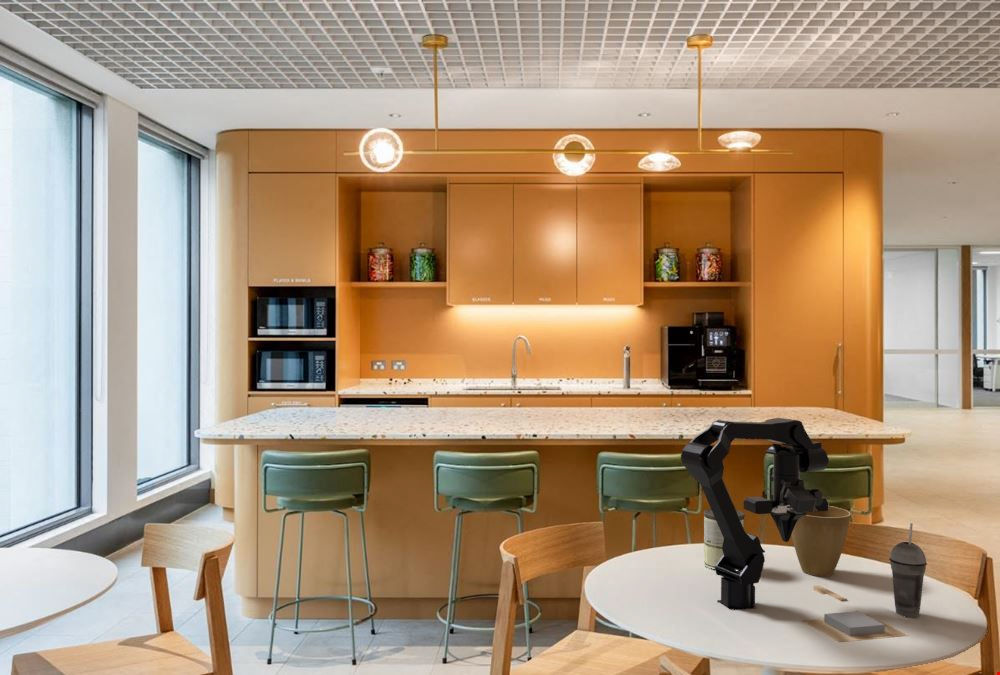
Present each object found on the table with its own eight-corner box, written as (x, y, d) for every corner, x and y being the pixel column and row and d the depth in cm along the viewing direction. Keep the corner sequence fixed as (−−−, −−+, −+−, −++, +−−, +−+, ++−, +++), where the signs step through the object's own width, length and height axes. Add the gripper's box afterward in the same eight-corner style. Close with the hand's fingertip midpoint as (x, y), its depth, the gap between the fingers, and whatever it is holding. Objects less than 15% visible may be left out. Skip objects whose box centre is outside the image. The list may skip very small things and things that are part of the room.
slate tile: (849, 627, 157) (884, 624, 159) (824, 613, 165) (857, 611, 167) (849, 636, 157) (884, 633, 159) (824, 622, 165) (857, 619, 167)
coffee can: (710, 558, 214) (710, 506, 214) (748, 564, 208) (749, 511, 208) (697, 567, 205) (698, 513, 205) (737, 574, 200) (738, 518, 200)
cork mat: (838, 645, 154) (838, 642, 154) (801, 623, 166) (801, 620, 166) (908, 638, 158) (908, 635, 158) (867, 617, 170) (867, 614, 170)
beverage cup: (914, 608, 176) (915, 518, 176) (933, 620, 168) (934, 526, 168) (882, 608, 175) (883, 518, 175) (899, 620, 168) (900, 526, 168)
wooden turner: (872, 612, 173) (872, 607, 173) (852, 613, 172) (852, 609, 172) (825, 589, 189) (825, 585, 189) (807, 590, 188) (807, 586, 188)
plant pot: (776, 571, 203) (776, 509, 202) (804, 560, 213) (804, 501, 213) (833, 585, 192) (834, 519, 191) (860, 573, 202) (860, 510, 201)
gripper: (769, 481, 172) (769, 553, 172) (844, 478, 176) (844, 548, 176) (742, 472, 182) (741, 540, 183) (813, 470, 187) (813, 536, 187)
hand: (785, 541), depth 182 cm, fingers closed
